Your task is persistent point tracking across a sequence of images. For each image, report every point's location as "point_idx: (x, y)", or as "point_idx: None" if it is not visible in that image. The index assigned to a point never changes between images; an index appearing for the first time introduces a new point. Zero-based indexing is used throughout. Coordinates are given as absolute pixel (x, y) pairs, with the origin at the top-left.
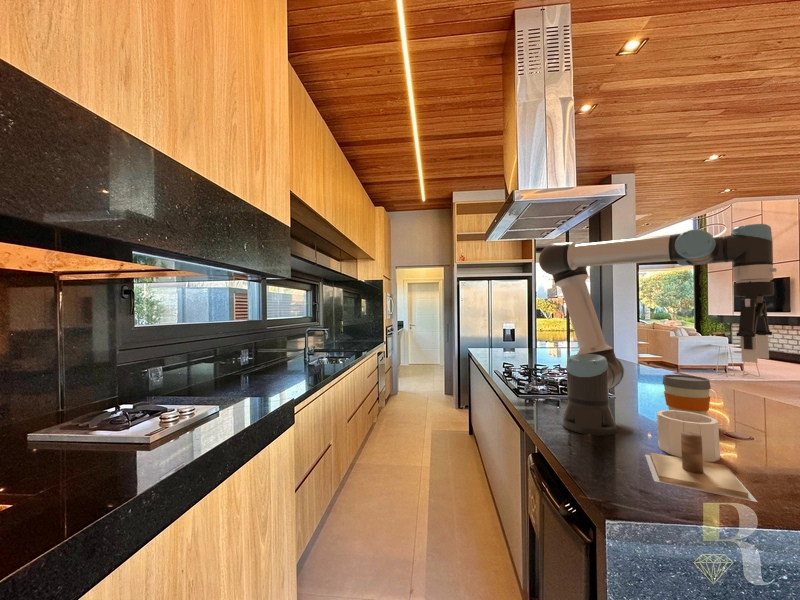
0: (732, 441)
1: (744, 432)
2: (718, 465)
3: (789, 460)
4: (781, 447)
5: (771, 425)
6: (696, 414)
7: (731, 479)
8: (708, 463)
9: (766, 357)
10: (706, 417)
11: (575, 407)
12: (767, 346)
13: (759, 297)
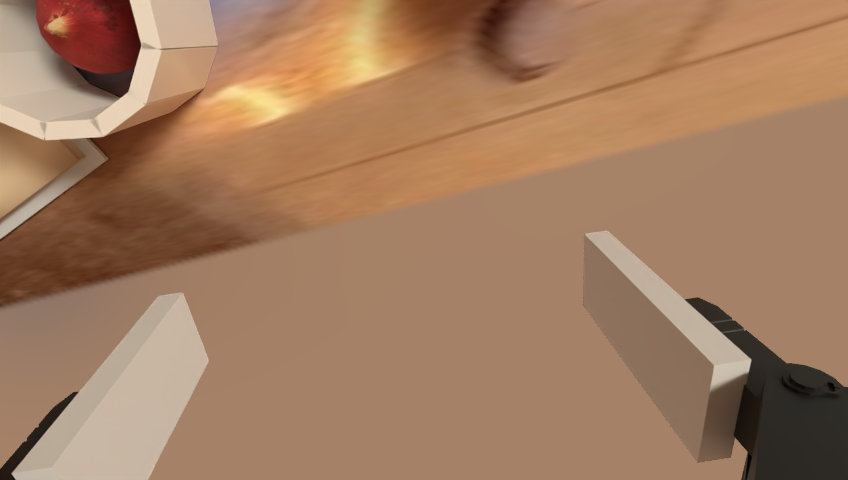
0: (425, 54)
1: (596, 32)
2: (55, 152)
3: (377, 206)
4: (498, 158)
5: (797, 50)
6: (137, 28)
7: None
8: None
9: (585, 302)
10: (133, 76)
11: None
12: (629, 368)
13: None
